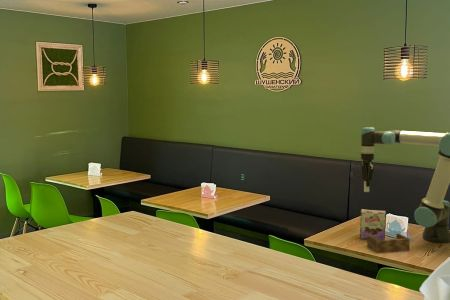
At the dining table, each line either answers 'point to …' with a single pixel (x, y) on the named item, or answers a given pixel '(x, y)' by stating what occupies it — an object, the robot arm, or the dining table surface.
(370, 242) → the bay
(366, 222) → the candy box
